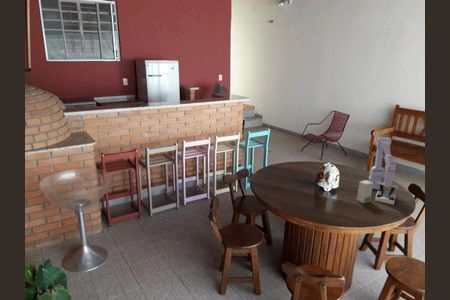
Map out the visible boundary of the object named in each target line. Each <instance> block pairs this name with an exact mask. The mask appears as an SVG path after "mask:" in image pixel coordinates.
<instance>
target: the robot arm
mask: <svg viewBox="0 0 450 300" xmlns="http://www.w3.org/2000/svg"><path fill="white" fill-rule="evenodd" d="M391 144H392V138H391V137H377V138H376V139H375V147H376V154H375V161H374V166H372V167H371V168H370V171H369V176H368V179H367V181H370V182H373V187H372V190H377V191H381V195H380V196H382V194H383V192H384V187H387V188H390V192H389V193H390V195H389V197H388V198H391V197H390V196H391V194H393V193H394V191H395V190H398V189H399V185H396V184H393V183H394V177H395V173H396V172H397V169H398V166H397V164H396V163H395V161H394V156H393V155H392V154H391V153H392V152H391V148H390V147H391ZM383 155H384V156H383ZM383 157H384V162H385V166H384V167H383V166H382V164H383ZM382 179H384V180H383V182H381V180H382Z"/></svg>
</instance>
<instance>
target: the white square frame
mask: <svg viewBox="0 0 450 300" xmlns="http://www.w3.org/2000/svg"><path fill="white" fill-rule="evenodd" d="M389 194H390V192H389ZM378 196H381V197H383V195H381V190H377V192H376V195H375V196H374V197H375V198H374V201H375V202H380V203H383V204H384V203H385V204H389V205H393V206H394V205H395V200H396V194H394V193H392V194H391V196H390V197H389V198H391V199H390V200H388V199H384V198H380V197H378ZM392 199H393V200H392Z"/></svg>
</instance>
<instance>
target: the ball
mask: <svg viewBox="0 0 450 300" xmlns="http://www.w3.org/2000/svg"><path fill="white" fill-rule="evenodd" d="M389 193H390V192H389V191H386V190H385V191H384V190H383V194H382V195H383V196H382V195H381V196H382V197H385V198H390V197H389V195H390V194H389Z"/></svg>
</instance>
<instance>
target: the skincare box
mask: <svg viewBox="0 0 450 300" xmlns="http://www.w3.org/2000/svg"><path fill="white" fill-rule="evenodd" d="M372 187H373V182H370V181H368V179H366V180H361V181H359V184H358V191H357V196H356V201H357V202H358V203H362V204H366V203H369V202H371V199H372V192H373V189H372Z"/></svg>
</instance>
